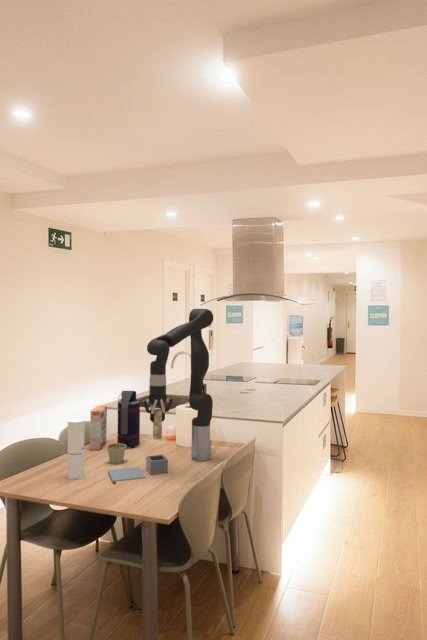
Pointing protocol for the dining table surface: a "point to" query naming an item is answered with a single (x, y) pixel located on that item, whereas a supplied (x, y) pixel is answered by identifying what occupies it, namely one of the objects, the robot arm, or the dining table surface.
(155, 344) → the robot arm
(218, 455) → the dining table surface
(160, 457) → the grey open box
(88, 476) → the dining table surface
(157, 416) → the dowel
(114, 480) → the board
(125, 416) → the grenade
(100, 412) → the cracker box
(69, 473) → the cylindrical container
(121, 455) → the flower pot
